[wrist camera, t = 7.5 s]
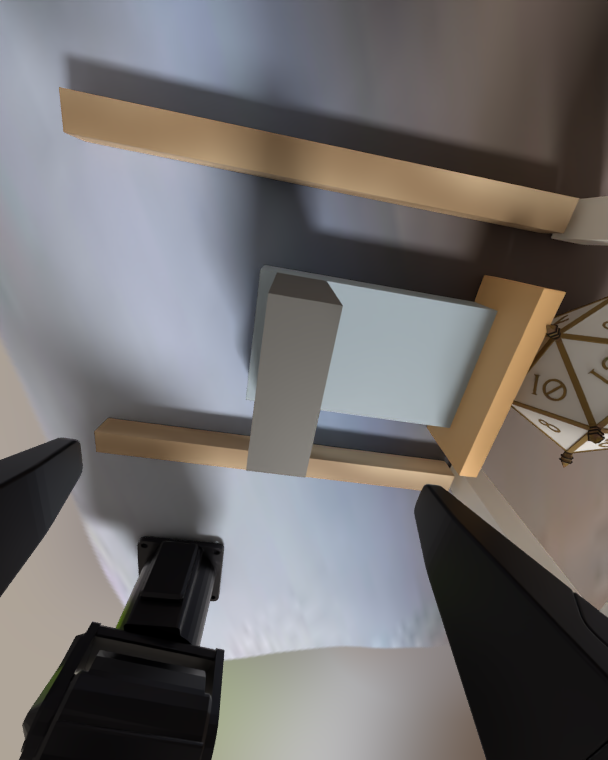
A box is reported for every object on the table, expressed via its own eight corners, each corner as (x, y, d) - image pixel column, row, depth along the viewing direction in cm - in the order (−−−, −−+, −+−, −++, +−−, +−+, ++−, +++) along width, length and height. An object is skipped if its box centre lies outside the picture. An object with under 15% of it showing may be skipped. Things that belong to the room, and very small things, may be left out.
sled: (440, 429, 22) (514, 529, 15) (248, 402, 21) (222, 496, 14) (501, 277, 18) (643, 309, 11) (268, 234, 17) (247, 236, 10)
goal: (468, 483, 24) (614, 695, 13) (444, 480, 24) (573, 693, 13) (599, 207, 17) (1178, 160, 6) (566, 200, 17) (1101, 138, 6)
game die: (529, 340, 24) (691, 446, 18) (438, 398, 22) (585, 536, 16) (600, 219, 17) (904, 333, 11) (473, 293, 15) (756, 472, 9)
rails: (437, 477, 24) (447, 493, 23) (109, 437, 22) (96, 451, 20) (554, 201, 17) (579, 198, 15) (82, 101, 15) (59, 87, 13)
